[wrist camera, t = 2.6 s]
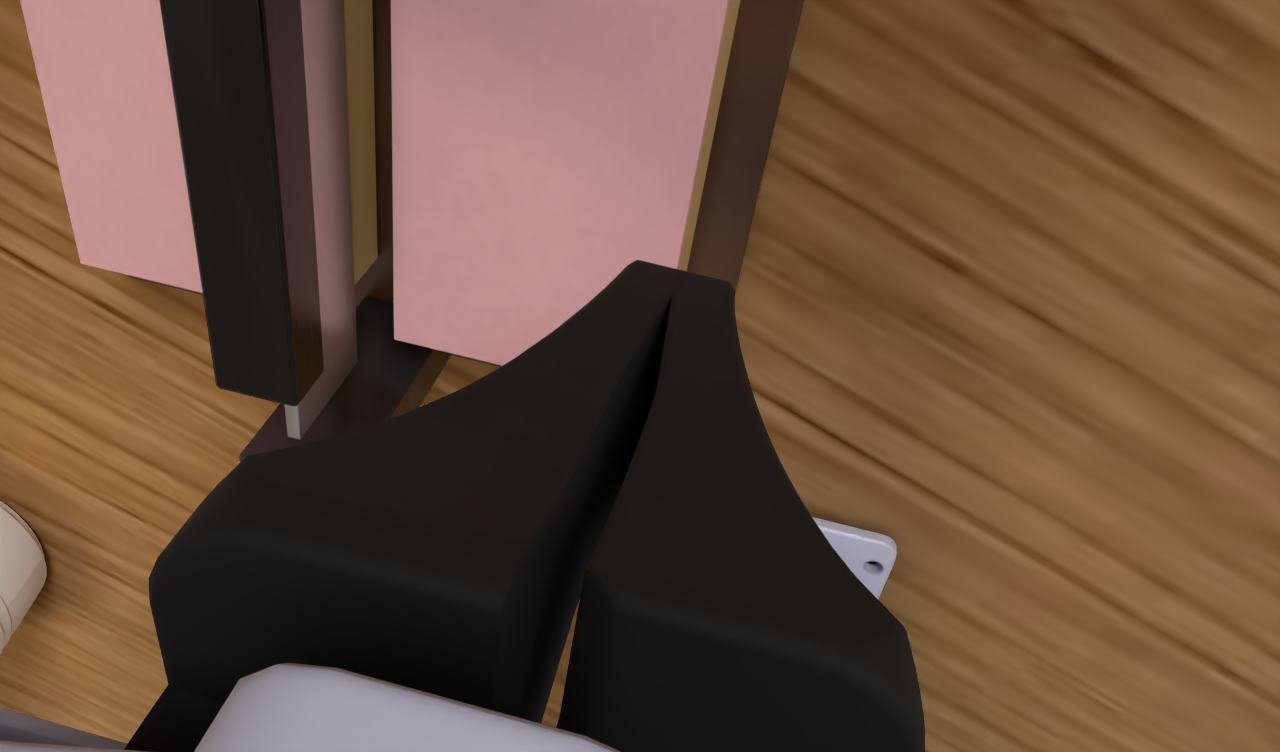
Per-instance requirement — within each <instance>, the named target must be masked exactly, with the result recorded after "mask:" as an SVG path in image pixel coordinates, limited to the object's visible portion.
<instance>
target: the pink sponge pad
mask: <svg viewBox="0 0 1280 752" xmlns="http://www.w3.org/2000/svg"><path fill="white" fill-rule="evenodd" d="M20 2H21V7H22V11H23V15H24V20H25V24H26V29H27V33H28V37H29V42H30V46H31V50H32V55H33V59H34V63H35V68H36V72H37V76H38V81H39V85H40V89H41V94H42V98H43V102H44V107H45V111H46V115H47V120H48V124H49V128H50V133H51V137H52V141H53V146H54V150H55V154H56V159H57V163H58V167H59V172H60V176H61V180H62V185H63V189H64V193H65V198H66V202H67V206H68V211H69V215H70V219H71V224H72V228H73V232H74V237H75V241H76V245H77V250H78V254H79V258H80V262H81V264H84V265H89V266H93V267H97V268H101V269H105V270H109V271H113V272H117V273H122V274H126V275H130V276H134V277H138V278H142V279H146V280H150V281H155V282H159V283H163V284H167V285H171V286H175V287H179V288H183V289H188V290H192V291H196V292H200V293H203V292H202V286H201V279H200V272H199V265H198V258H197V252H196V245H195V238H194V231H193V225H192V218H191V211H190V204H189V197H188V191H187V184H186V177H185V170H184V164H183V157H182V150H181V143H180V137H179V130H178V123H177V116H176V109H175V103H174V96H173V89H172V82H171V76H170V69H169V62H168V55H167V48H166V42H165V35H164V28H163V21H162V15H161V8H160V1H159V0H20ZM739 5H740V0H391V94H392V195H393V295H394V339H395V340H398V341H402V342H406V343H410V344H415V345H419V346H423V347H427V348H431V349H435V350H439V351H444V352H448V353H452V354H456V355H460V356H464V357H468V358H472V359H477V360H481V361H485V362H489V363H493V364H497V365H501V366H503V365H504V364H506V363H508V362H509V361H511V360H512V359H514V358H516V357H517V356H518V355H520V354H521V353H523V352H524V351H526V350H527V349H528V348H530V347H531V346H533V345H534V344H536V343H537V342H539V341H540V340H541V339H543V338H544V337H546V336H547V335H549V334H550V333H551V332H553V331H554V330H555V329H557V328H558V327H559V326H560V325H562V324H563V323H564V322H565V321H566V320H568V319H569V318H570V317H571V316H573V315H574V314H575V313H576V312H578V311H579V310H580V309H581V308H582V307H584V306H585V305H586V304H587V303H588V302H590V301H591V300H592V299H593V298H594V297H595V296H596V295H597V294H599V293H600V292H601V291H602V290H603V289H604V288H605V287H606V286H607V285H608V284H609V283H610V282H611V281H612V280H613V279H614V278H615V277H616V276H617V275H618V274H619V273H620V272H621V271H622V270H623V269H624V268H625V267H626V266H627V265H628V264H630V263H632V262H634V261H636V260H641V261H645V262H649V263H653V264H658V265H662V266H666V267H670V268H674V269H679V270H683V271H687V267H688V262H689V257H690V252H691V247H692V242H693V237H694V232H695V227H696V222H697V217H698V212H699V207H700V202H701V197H702V192H703V187H704V181H705V176H706V171H707V166H708V161H709V156H710V151H711V146H712V141H713V136H714V131H715V126H716V121H717V116H718V111H719V106H720V101H721V96H722V91H723V86H724V81H725V76H726V71H727V66H728V60H729V55H730V50H731V45H732V40H733V35H734V30H735V25H736V20H737V15H738V10H739ZM344 16H345V42H346V69H347V95H348V122H349V148H350V175H351V201H352V228H353V254H354V281H355V285H356V284H357V283H358V281H359V280H360V279H361V278H362V276H363V275H364V274H365V273H366V272H367V270H368V269H369V268H370V267H371V265H372V264H373V263H374V262H375V261H376V259H377V257H378V250H377V202H376V154H375V106H374V58H373V10H372V0H344Z"/></svg>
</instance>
